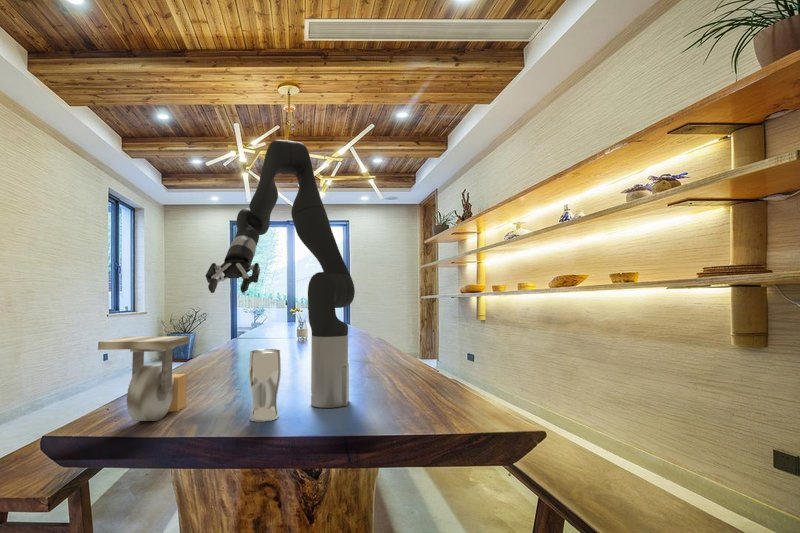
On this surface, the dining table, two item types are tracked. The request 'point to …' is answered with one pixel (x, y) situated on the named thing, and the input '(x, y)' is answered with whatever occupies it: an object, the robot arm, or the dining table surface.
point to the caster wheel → (148, 374)
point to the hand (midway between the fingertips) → (226, 290)
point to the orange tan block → (179, 392)
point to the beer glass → (264, 383)
